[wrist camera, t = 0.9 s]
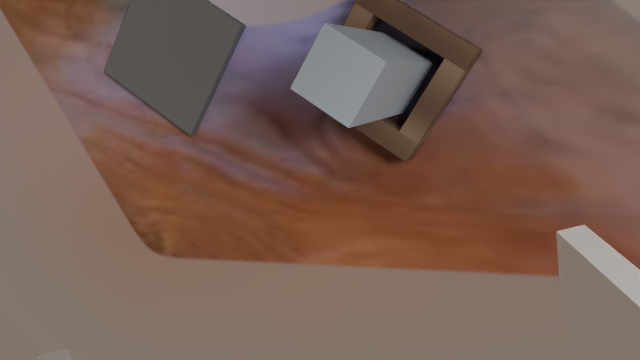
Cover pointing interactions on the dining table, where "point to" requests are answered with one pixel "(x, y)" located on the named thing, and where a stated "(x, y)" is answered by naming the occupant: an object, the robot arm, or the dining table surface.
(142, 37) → the rubber pad
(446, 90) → the frame
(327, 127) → the dining table surface
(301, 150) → the dining table surface
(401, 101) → the slate block
